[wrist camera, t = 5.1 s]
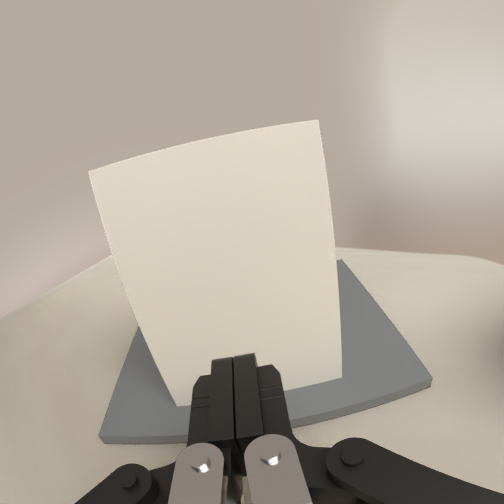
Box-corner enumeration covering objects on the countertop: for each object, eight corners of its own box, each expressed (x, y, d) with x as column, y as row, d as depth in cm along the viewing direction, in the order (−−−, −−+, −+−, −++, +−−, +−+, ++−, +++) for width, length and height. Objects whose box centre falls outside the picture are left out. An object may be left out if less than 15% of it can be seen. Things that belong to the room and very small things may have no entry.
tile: (177, 406, 17) (87, 171, 12) (179, 389, 19) (100, 167, 14) (342, 377, 17) (318, 119, 12) (335, 361, 19) (309, 120, 14)
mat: (104, 443, 15) (98, 436, 15) (153, 303, 32) (150, 297, 32) (430, 386, 15) (432, 377, 15) (342, 266, 32) (341, 259, 32)
